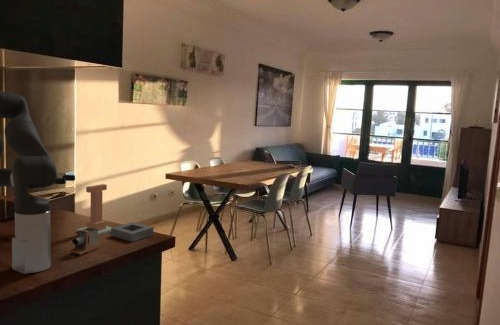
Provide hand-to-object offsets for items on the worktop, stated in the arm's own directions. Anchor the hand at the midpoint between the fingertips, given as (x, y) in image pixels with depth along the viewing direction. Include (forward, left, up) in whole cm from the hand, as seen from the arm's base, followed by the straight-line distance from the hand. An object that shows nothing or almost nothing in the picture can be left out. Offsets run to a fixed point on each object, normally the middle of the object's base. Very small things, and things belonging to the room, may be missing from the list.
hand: (70, 179), depth 157 cm
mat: (+5, -9, -20) cm, 22 cm away
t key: (+5, -9, -19) cm, 21 cm away
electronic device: (-12, -23, -20) cm, 33 cm away
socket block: (+10, -23, -20) cm, 32 cm away
